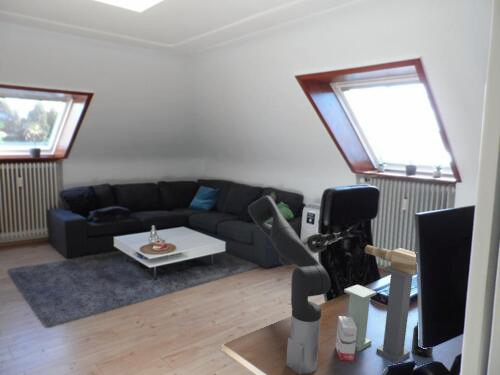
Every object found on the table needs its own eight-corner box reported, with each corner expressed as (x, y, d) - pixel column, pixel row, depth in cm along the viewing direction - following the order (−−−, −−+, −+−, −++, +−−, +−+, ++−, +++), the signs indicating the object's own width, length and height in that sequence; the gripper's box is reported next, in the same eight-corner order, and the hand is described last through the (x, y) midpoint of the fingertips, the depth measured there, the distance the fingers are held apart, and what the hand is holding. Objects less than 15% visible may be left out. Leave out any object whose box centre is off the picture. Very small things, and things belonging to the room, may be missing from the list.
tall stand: (397, 363, 131) (407, 274, 126) (376, 352, 137) (385, 267, 132) (409, 355, 136) (419, 270, 131) (388, 344, 142) (397, 263, 137)
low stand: (358, 351, 136) (363, 297, 133) (339, 341, 142) (344, 289, 139) (371, 344, 142) (376, 292, 139) (352, 334, 148) (357, 284, 145)
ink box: (354, 361, 131) (357, 328, 129) (339, 360, 131) (342, 327, 129) (349, 347, 139) (352, 316, 137) (335, 346, 139) (337, 315, 137)
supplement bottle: (414, 345, 143) (418, 314, 141) (434, 352, 138) (438, 320, 136) (408, 352, 137) (412, 320, 135) (429, 360, 133) (433, 327, 131)
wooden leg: (412, 274, 126) (415, 257, 125) (362, 258, 140) (364, 242, 140) (420, 271, 129) (422, 254, 128) (370, 255, 144) (372, 240, 143)
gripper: (298, 238, 161) (327, 226, 150) (321, 233, 170) (349, 222, 159) (304, 256, 160) (333, 245, 148) (326, 250, 169) (356, 240, 157)
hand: (341, 233), depth 153 cm, fingers open, 8 cm apart
